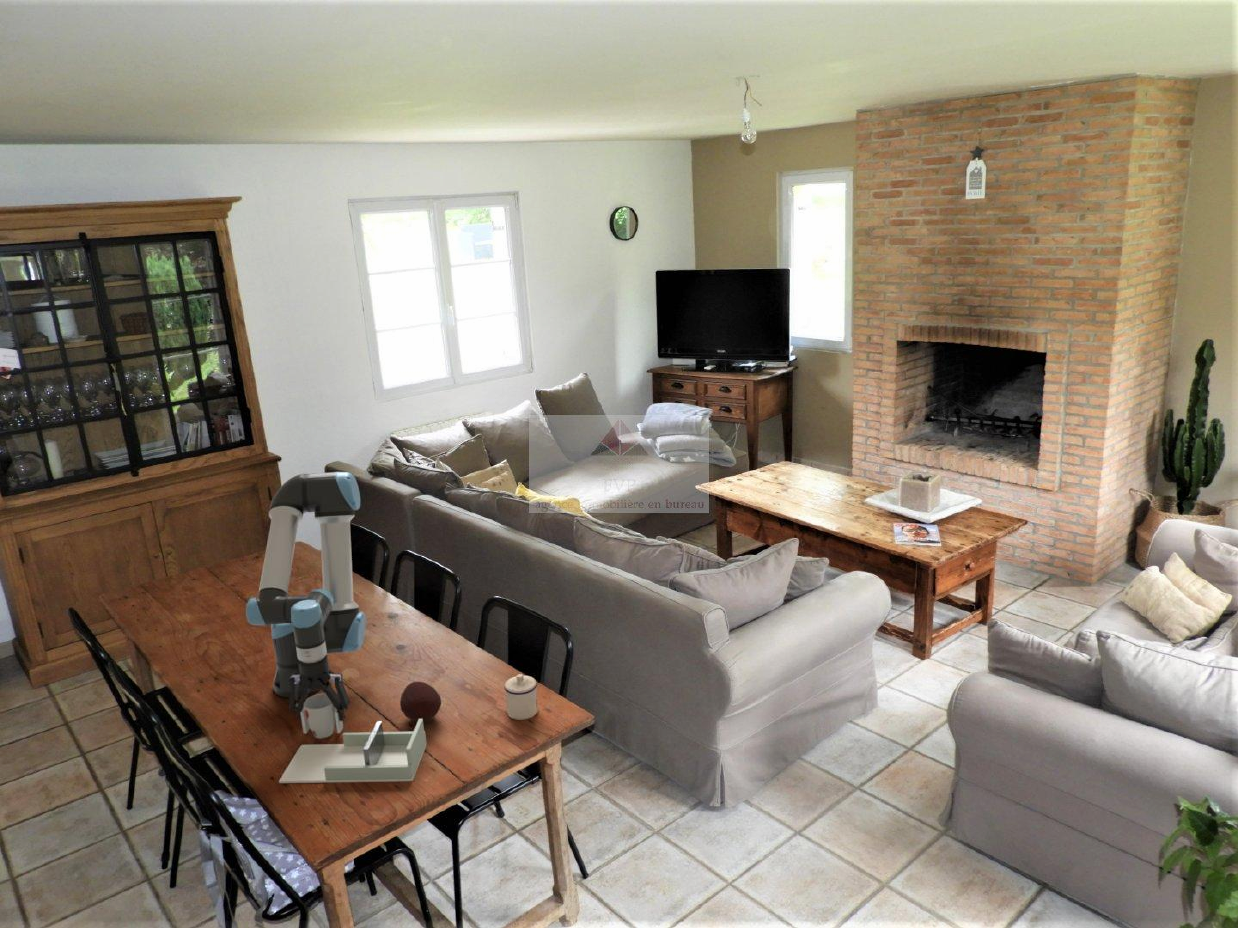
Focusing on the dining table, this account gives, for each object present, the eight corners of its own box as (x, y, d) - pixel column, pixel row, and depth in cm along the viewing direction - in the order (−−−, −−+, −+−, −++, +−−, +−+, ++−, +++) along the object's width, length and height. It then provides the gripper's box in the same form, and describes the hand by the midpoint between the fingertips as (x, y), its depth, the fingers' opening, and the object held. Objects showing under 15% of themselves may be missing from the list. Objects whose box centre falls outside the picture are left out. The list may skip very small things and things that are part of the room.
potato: (407, 736, 245) (403, 703, 242) (398, 712, 257) (394, 680, 254) (447, 726, 249) (443, 693, 246) (436, 703, 261) (433, 671, 258)
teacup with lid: (545, 712, 254) (542, 675, 251) (518, 724, 249) (515, 687, 245) (521, 695, 263) (518, 660, 260) (494, 707, 258) (491, 671, 254)
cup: (312, 726, 252) (307, 694, 249) (341, 723, 252) (337, 692, 249) (305, 743, 244) (300, 710, 241) (335, 740, 245) (331, 708, 242)
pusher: (366, 775, 228) (363, 749, 226) (380, 745, 240) (377, 721, 238) (371, 775, 228) (367, 749, 226) (384, 745, 240) (381, 721, 238)
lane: (279, 783, 227) (274, 753, 225) (301, 746, 242) (297, 718, 240) (412, 781, 226) (409, 751, 224) (426, 744, 241) (423, 716, 239)
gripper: (267, 664, 238) (279, 738, 245) (347, 663, 237) (357, 737, 244) (278, 651, 245) (290, 723, 252) (356, 649, 245) (365, 722, 251)
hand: (323, 730), depth 248 cm, fingers open, 9 cm apart
